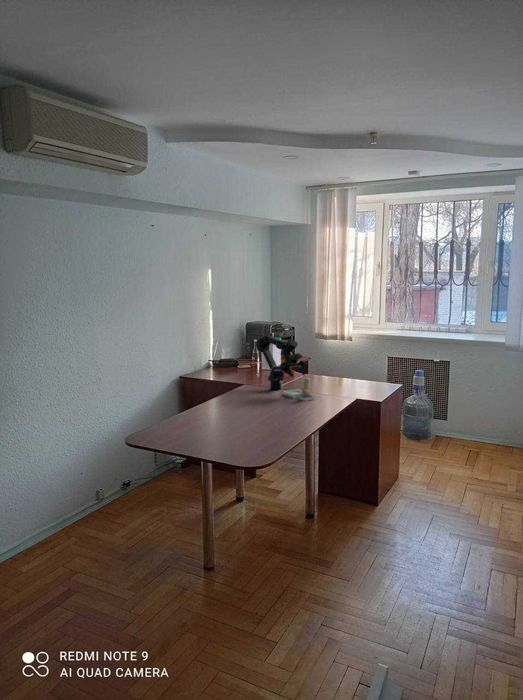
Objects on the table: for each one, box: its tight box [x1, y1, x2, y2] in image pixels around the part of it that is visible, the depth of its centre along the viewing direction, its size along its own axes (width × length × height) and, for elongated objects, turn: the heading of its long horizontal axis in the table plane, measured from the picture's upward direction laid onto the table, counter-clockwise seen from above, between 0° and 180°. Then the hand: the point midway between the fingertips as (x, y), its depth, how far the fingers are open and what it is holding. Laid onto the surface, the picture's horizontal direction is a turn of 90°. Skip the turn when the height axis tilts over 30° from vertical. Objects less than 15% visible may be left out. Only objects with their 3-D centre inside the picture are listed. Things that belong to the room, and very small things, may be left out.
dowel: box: [301, 377, 311, 397], centre depth 318 cm, size 5×5×13 cm
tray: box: [282, 389, 302, 399], centre depth 328 cm, size 12×12×2 cm
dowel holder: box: [296, 394, 315, 402], centre depth 319 cm, size 8×8×2 cm
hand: (298, 375), depth 324 cm, fingers open, 9 cm apart
